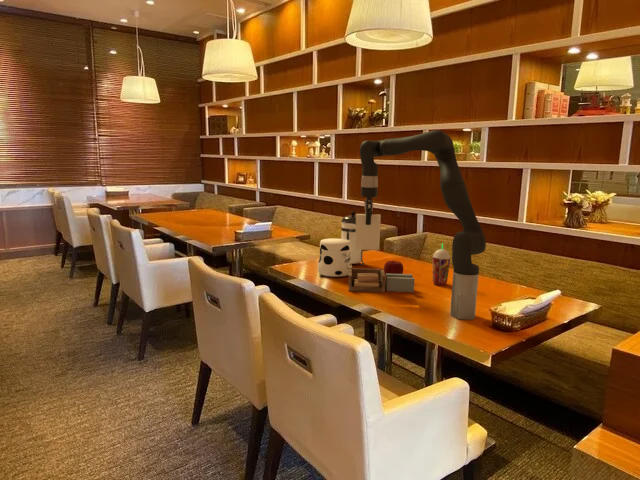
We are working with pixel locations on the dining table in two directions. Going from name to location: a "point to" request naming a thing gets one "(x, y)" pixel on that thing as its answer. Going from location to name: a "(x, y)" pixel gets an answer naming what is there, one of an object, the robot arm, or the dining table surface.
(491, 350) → the dining table surface
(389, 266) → the apple
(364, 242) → the cream rectangular board
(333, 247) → the milk container
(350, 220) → the coffee press
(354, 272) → the box
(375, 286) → the offcut large
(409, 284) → the holder
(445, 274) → the smoothie
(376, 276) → the offcut small
